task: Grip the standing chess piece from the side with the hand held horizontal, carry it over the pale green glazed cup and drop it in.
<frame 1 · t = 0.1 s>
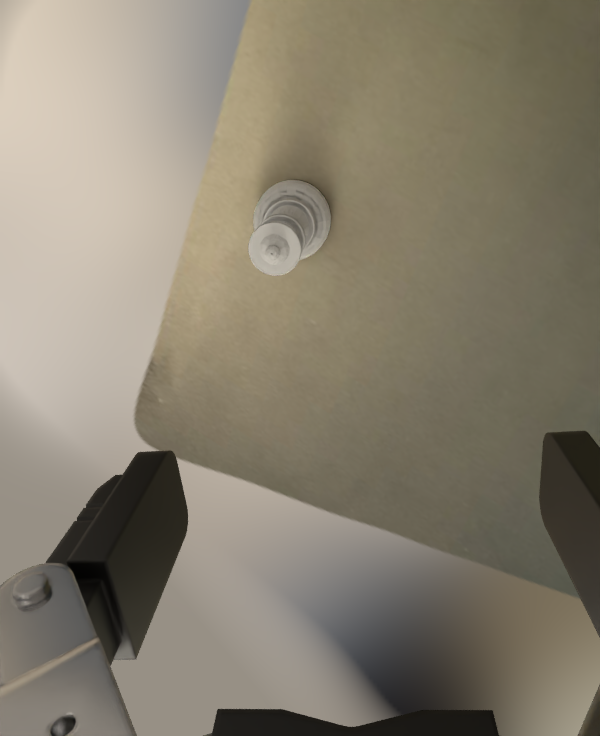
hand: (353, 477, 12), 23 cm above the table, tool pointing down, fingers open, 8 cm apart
chess piece: (293, 218, 33), on the table
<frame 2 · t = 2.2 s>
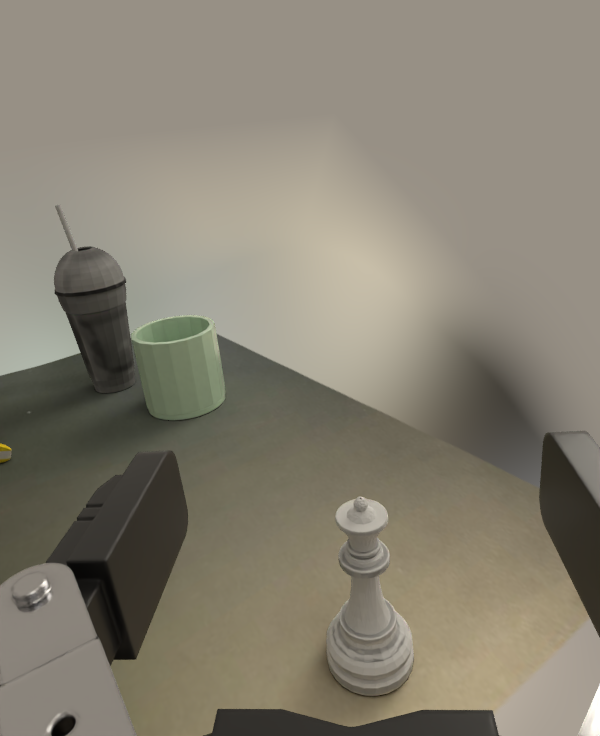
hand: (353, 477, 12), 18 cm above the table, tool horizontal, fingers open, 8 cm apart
glazed cup: (187, 401, 58), on the table
beverage cup: (116, 385, 64), on the table
chess piece: (370, 660, 29), on the table
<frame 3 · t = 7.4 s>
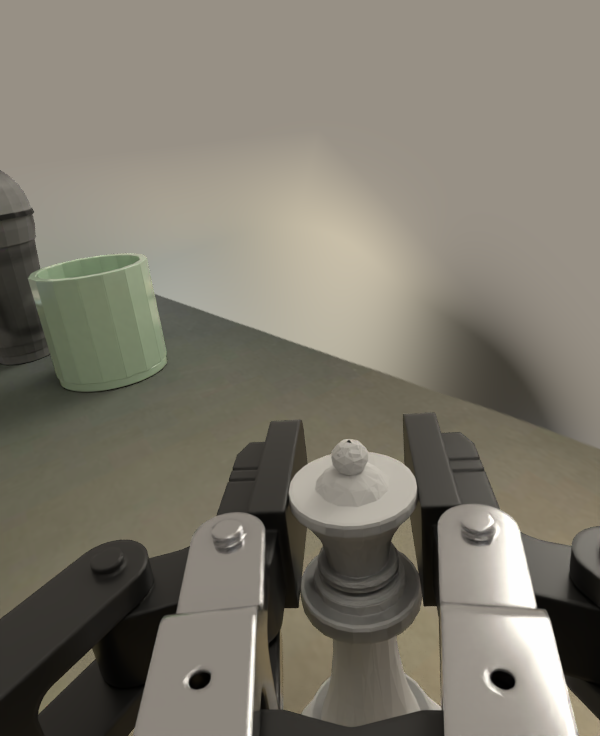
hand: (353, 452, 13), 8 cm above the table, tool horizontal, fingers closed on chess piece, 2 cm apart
glazed cup: (114, 369, 43), on the table
beverage cup: (27, 356, 49), on the table
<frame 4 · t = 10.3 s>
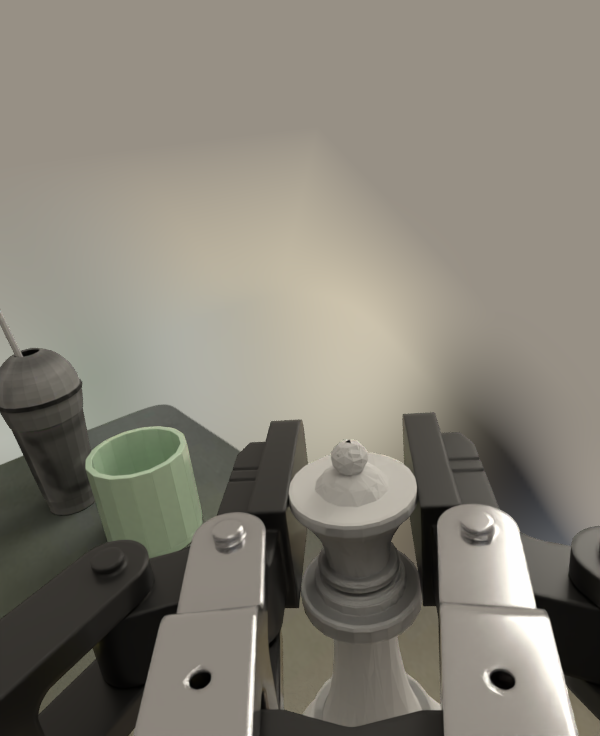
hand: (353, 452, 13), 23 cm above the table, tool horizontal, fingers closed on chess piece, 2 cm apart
glazed cup: (156, 529, 49), on the table
beverage cup: (74, 502, 55), on the table
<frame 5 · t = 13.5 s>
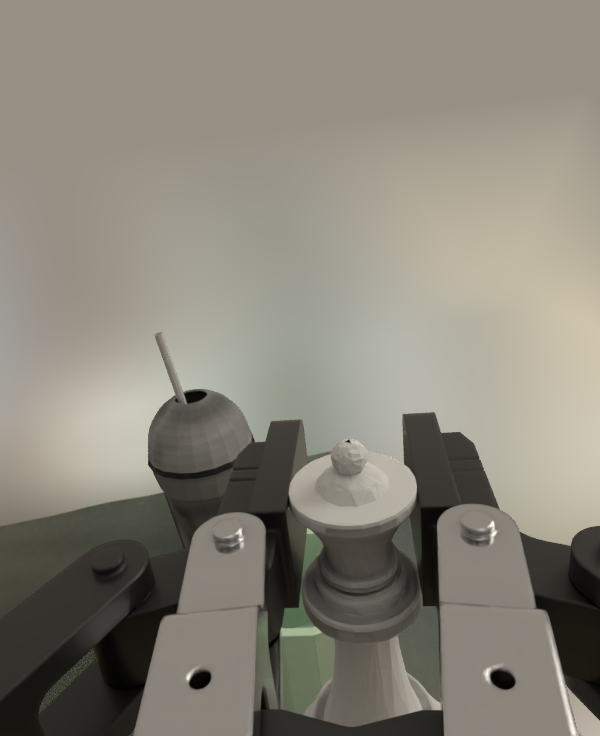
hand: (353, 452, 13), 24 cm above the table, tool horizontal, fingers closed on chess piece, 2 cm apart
glazed cup: (316, 676, 34), on the table
beverage cup: (228, 580, 43), on the table
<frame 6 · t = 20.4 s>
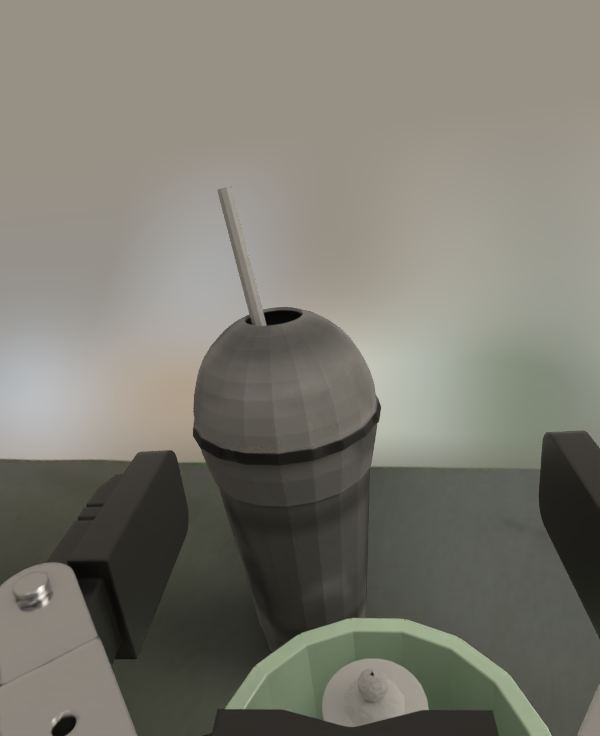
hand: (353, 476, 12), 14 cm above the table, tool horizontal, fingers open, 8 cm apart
beverage cup: (315, 636, 26), on the table
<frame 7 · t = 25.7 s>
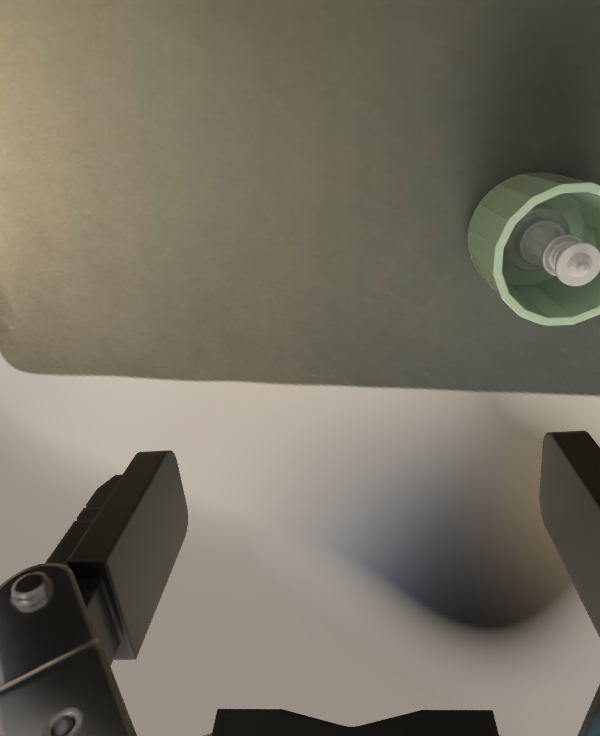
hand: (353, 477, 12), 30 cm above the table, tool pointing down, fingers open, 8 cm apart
glazed cup: (526, 233, 39), on the table
chess piece: (528, 234, 39), resting on glazed cup
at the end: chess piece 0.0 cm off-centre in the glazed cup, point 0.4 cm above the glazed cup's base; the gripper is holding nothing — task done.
